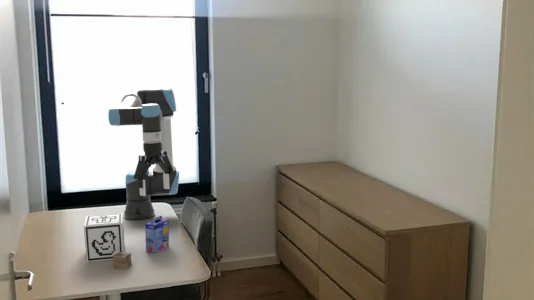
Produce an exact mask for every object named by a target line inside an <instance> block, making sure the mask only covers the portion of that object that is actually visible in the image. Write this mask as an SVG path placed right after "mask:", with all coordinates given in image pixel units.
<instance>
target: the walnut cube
mask: <svg viewBox="0 0 534 300" xmlns="http://www.w3.org/2000/svg"><path fill="white" fill-rule="evenodd" d="M112 260H113V263H112V264H113V269H118V270H126V269H128V268H129V267H130V266H132V253H131V252H127V251H125V252H118V253H117V254H116V255H114V256H113V259H112Z"/></svg>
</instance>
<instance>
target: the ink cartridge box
mask: <svg viewBox="0 0 534 300" xmlns="http://www.w3.org/2000/svg"><path fill="white" fill-rule="evenodd" d="M169 225H170V223H169V219H168V218H163V215H159V216H157V217H156V218H155V219H154V220H150V221H148V222H146V223H145V224H144V230H145V234H144V235H145V251H146V252H150V253H153V254H156V253H158V252H160V251H162V250H164V249H166V248H168V247H170V232H169V231H170V230H169V229H170V228H169V227H170V226H169Z"/></svg>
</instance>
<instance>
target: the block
mask: <svg viewBox="0 0 534 300" xmlns="http://www.w3.org/2000/svg"><path fill="white" fill-rule="evenodd" d="M83 233H84V234H83V235H84V245H85V246H84V247H85V260H86V263H89V262H99V261H109V260H111V261H112V260H113V256H114V255H116V254H117V253H118V252H126V245H125V229H124V213H123V212H117V213H106V214H105V213H104V214H93V215H86V216H85V219H84V223H83Z"/></svg>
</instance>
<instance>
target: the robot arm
mask: <svg viewBox="0 0 534 300" xmlns="http://www.w3.org/2000/svg"><path fill="white" fill-rule="evenodd" d="M174 94H175V93H174V90H173V89H172V88H168V87H151V88H150V87H149V88H137V89H134V90H132V91H130V92H128V93H126V94H125V95H124V96H122V99H121V103H120V104H119V106H118V107H111V108H109V109H108V113H107V114H108V123H109V125H110V126H117V127H120V126H142V141H143V143H142V145H143V151H144V155H138V161H137V165H136V167H135V170H132V171H129V172H128V173H126V175H125V191H126V194H125V195H126V204H125V209H124V213H123V218H124V219H127V220H131V221H132V220H133V221H140V220H147V219H150V218H153V217H154V216H155V209H154V206H153V204H152V200H151V196H169V195H177V193H178V190H179V189H178V188H179V181H180V180H179V179H180V171H178V170H177V167H176V166H175V165H174V159H173V142H172V141H173V139H172V122H171V119H172V118H173V116H174V113H175V112H177V103H176V98H175V95H174ZM151 166H154V167H153V168H152V172H150V171H149V169H150V167H151Z"/></svg>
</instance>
